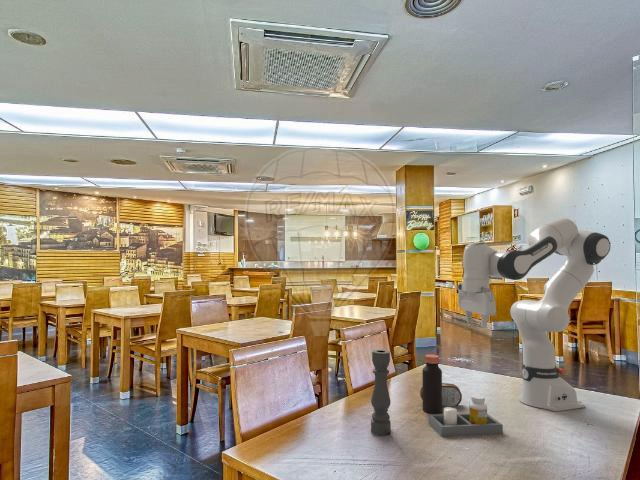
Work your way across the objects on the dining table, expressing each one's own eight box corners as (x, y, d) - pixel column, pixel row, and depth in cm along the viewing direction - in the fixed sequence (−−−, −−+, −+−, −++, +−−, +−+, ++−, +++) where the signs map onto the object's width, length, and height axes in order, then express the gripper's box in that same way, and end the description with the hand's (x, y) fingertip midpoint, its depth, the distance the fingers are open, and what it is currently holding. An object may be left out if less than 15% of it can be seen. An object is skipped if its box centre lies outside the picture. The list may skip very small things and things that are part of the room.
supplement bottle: (466, 424, 133) (466, 393, 133) (482, 423, 133) (482, 393, 133) (473, 431, 127) (473, 399, 128) (490, 430, 128) (490, 399, 128)
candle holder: (392, 429, 130) (392, 350, 131) (388, 437, 124) (389, 354, 125) (373, 426, 132) (373, 348, 133) (368, 434, 126) (369, 352, 127)
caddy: (485, 423, 136) (485, 412, 136) (502, 436, 126) (502, 424, 126) (428, 425, 133) (428, 414, 133) (441, 438, 123) (441, 427, 123)
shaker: (453, 425, 131) (453, 407, 131) (459, 431, 127) (459, 411, 127) (441, 426, 130) (441, 407, 131) (447, 431, 126) (447, 412, 127)
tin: (460, 406, 152) (460, 383, 153) (462, 409, 149) (462, 385, 150) (419, 404, 154) (419, 381, 154) (421, 407, 151) (421, 383, 151)
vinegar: (443, 411, 146) (443, 355, 147) (440, 417, 140) (440, 359, 141) (424, 408, 149) (424, 353, 150) (420, 414, 143) (420, 356, 144)
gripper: (500, 288, 137) (501, 329, 137) (470, 285, 158) (470, 321, 157) (483, 288, 137) (483, 330, 136) (455, 285, 157) (455, 321, 156)
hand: (476, 325), depth 146 cm, fingers open, 8 cm apart
